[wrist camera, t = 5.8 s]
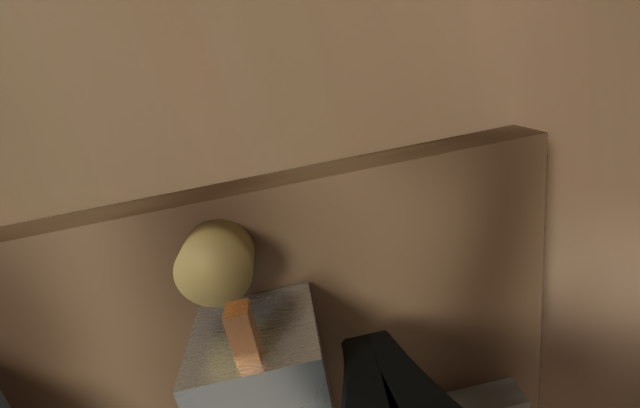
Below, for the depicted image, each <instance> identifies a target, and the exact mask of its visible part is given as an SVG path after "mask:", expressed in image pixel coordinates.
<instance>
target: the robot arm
mask: <svg viewBox="0 0 640 408" xmlns="http://www.w3.org/2000/svg"><path fill="white" fill-rule="evenodd" d="M341 345H342V351H343V360H344V375H343V390H342V402H341V408H463V407H462V406H460V405H459V404H458V403H457V402H456V401H455V400H453V399H452V398H451V397H450V396H449V395H448V394H447V393H446V392H445V391H444V390H442V389H441V388H440V387H439V386H438V385H437V384H436V383H435V382H434V381H433V380H432V379H431V378H430V377H429V376H428V375H427V374H426V373H425V372H424V371H423V370H422V369H421V368H420V367H419V366H418V365H417V364H416V363H415V362H414V361H413V360H412V359H411V358H410V357H409V356H408V355H407V353H406V352H405V351H404V350H403V349H402V348H401V347H400V346H399V344H398V343H397V342H396V341H395V340H394V338H393V337H392V336H391V335H390V333H389V332H387V331H385V330H383V331H378V332H374V333H370V334H365V335H361V336H356V337H352V338H347V339H344V341H343V342H342V343H341Z"/></svg>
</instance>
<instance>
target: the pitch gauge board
mask: <svg viewBox="0 0 640 408" xmlns="http://www.w3.org/2000/svg"><path fill="white" fill-rule="evenodd" d="M547 142H548V133H547V132H543V131H538V130H534V129H530V128H525V127H521V126H516V125H511V126H506V127H501V128H496V129H491V130H486V131H481V132H476V133H471V134H466V135H461V136H456V137H451V138H446V139H441V140H435V141H430V142H425V143H420V144H415V145H410V146H405V147H400V148H395V149H390V150H385V151H380V152H375V153H370V154H365V155H360V156H355V157H350V158H345V159H340V160H335V161H330V162H325V163H320V164H315V165H310V166H305V167H300V168H295V169H290V170H284V171H279V172H274V173H269V174H264V175H259V176H254V177H249V178H244V179H239V180H234V181H229V182H224V183H219V184H214V185H209V186H204V187H199V188H194V189H189V190H184V191H179V192H174V193H169V194H164V195H159V196H154V197H149V198H144V199H138V200H133V201H128V202H123V203H118V204H113V205H108V206H103V207H98V208H93V209H88V210H83V211H78V212H73V213H68V214H63V215H58V216H53V217H48V218H43V219H38V220H33V221H28V222H23V223H18V224H13V225H8V226H3V227H0V408H179V407H178V405H177V402H176V400H175V397H174V395H173V390H174V387H175V384H176V380H177V377H178V374H179V371H180V367H181V364H182V361H183V357H184V354H185V351H186V347H187V344H188V341H189V338H190V334H191V331H192V328H193V324H194V321H195V318H196V314H197V311H198V308H199V306H200V305H201V306H205V307H222V306H225V302H230V301H234V300H239V299H240V298H241V297H242V296H246V295H251V294H255V293H260V292H264V291H269V290H274V289H278V288H283V287H288V286H292V285H297V284H302V283H306V282H308V283H309V288H310V293H311V298H312V302H313V307H314V312H315V317H316V321H317V326H318V331H319V336H320V340H321V345H322V350H323V355H324V359H325V364H326V369H327V374H328V378H329V383H330V388H331V393H332V397H333V402H334V407H335V408H341V402H342V390H343V375H344V360H343V351H342V345H341V343H342V342H343V341H344V339H347V338H352V337H356V336H361V335H365V334H370V333H374V332H378V331H383V330H385V331H387V332H389V333H390V335H391V336H392V337H393V338H394V340H395V341H396V342H397V343H398V344H399V346H400V347H401V348H402V349H403V350H404V351H405V352H406V353H407V355H408V356H409V357H410V358H411V359H412V360H413V361H414V362H415V363H416V364H417V365H418V366H419V367H420V368H421V369H422V370H423V371H424V372H425V373H426V374H427V375H428V376H429V377H430V378H431V379H432V380H433V381H434V382H435V383H436V384H437V385H438V386H439V387H440V388H441V389H442V390H444V391H445V392H446V393H447V394H448V395H449V396H450V397H451V398H452V399H453V400H455V401H456V402H457V403H458V404H459V405H460V406H462V407H463V408H539V383H540V353H541V323H542V293H543V263H544V233H545V202H546V172H547Z"/></svg>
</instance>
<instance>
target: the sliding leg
mask: <svg viewBox="0 0 640 408" xmlns="http://www.w3.org/2000/svg"><path fill="white" fill-rule="evenodd" d="M173 395H174V397H175V400H176V402H177V405H178V407H179V408H335V407H334V402H333V397H332V393H331V388H330V383H329V378H328V374H327V369H326V364H325V359H324V355H323V350H322V345H321V340H320V336H319V331H318V326H317V321H316V317H315V312H314V307H313V302H312V298H311V293H310V288H309V283H308V282H306V283H302V284H297V285H292V286H288V287H283V288H278V289H274V290H269V291H264V292H260V293H255V294H251V295H246V296H242V297H241V298H240V299H239V300H234V301H230V302H225V306H222V307H205V306H201V305H200V306H199V308H198V311H197V314H196V318H195V321H194V324H193V328H192V331H191V334H190V338H189V341H188V344H187V347H186V351H185V354H184V357H183V361H182V364H181V367H180V371H179V374H178V377H177V380H176V384H175V387H174V390H173Z"/></svg>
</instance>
